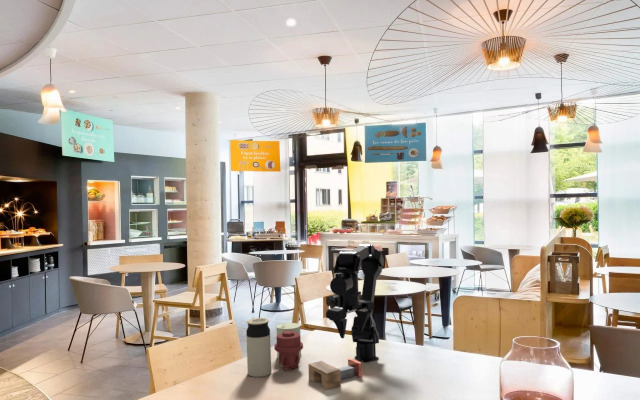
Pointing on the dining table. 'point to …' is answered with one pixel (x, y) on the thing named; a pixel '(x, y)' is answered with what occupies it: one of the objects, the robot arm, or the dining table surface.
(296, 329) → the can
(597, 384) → the dining table surface
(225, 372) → the dining table surface
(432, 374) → the dining table surface
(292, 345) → the mechanical component
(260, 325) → the travel mug
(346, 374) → the pin
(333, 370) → the block
